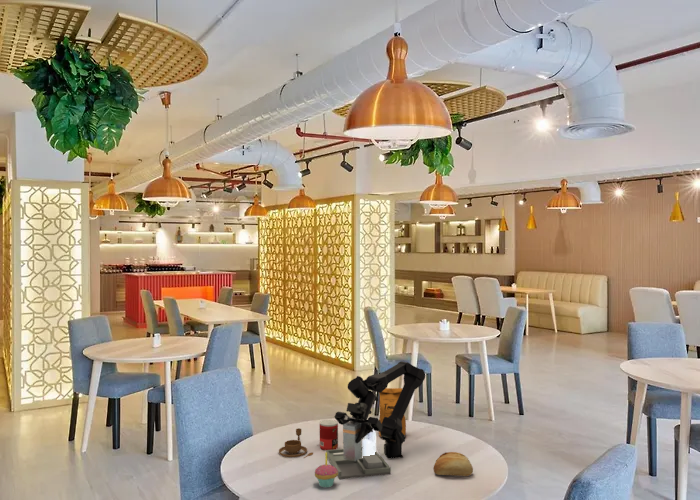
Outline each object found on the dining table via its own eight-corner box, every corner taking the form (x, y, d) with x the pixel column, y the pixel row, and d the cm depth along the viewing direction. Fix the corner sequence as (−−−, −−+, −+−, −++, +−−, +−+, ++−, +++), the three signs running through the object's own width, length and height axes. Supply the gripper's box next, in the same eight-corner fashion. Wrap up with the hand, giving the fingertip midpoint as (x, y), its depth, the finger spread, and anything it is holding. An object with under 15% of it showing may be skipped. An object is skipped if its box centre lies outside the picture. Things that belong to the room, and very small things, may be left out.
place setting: (267, 454, 250) (267, 440, 250) (297, 440, 266) (297, 427, 266) (300, 462, 240) (300, 448, 240) (329, 448, 257) (328, 434, 257)
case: (372, 450, 251) (372, 441, 251) (390, 474, 226) (390, 463, 226) (325, 455, 247) (325, 445, 247) (339, 479, 221) (339, 468, 221)
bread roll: (431, 470, 230) (431, 449, 230) (469, 469, 231) (469, 449, 231) (435, 480, 221) (435, 458, 221) (475, 479, 221) (475, 457, 221)
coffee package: (406, 440, 265) (406, 390, 265) (378, 439, 266) (378, 390, 266) (405, 432, 275) (405, 385, 275) (378, 432, 276) (378, 385, 276)
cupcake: (314, 480, 220) (314, 448, 220) (337, 479, 221) (337, 447, 221) (315, 490, 212) (314, 456, 211) (338, 489, 212) (338, 456, 212)
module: (350, 454, 228) (349, 419, 228) (361, 457, 226) (361, 421, 225) (343, 459, 224) (342, 423, 224) (354, 461, 221) (354, 425, 221)
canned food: (335, 451, 251) (335, 425, 251) (317, 450, 253) (317, 424, 252) (339, 445, 258) (339, 420, 258) (321, 444, 260) (321, 419, 260)
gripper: (336, 390, 232) (321, 426, 223) (378, 397, 223) (364, 435, 214) (347, 405, 239) (332, 441, 230) (388, 412, 230) (375, 449, 220)
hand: (350, 441), depth 223 cm, fingers closed on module, 5 cm apart
